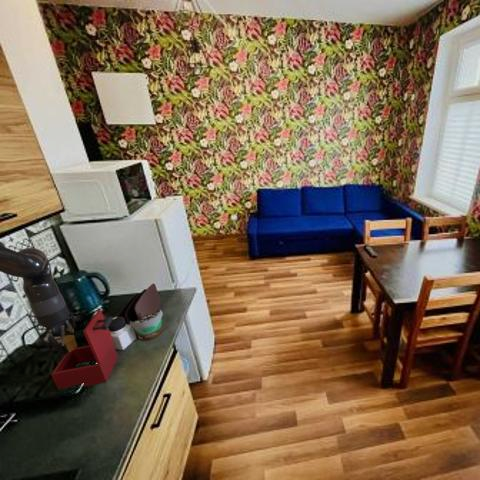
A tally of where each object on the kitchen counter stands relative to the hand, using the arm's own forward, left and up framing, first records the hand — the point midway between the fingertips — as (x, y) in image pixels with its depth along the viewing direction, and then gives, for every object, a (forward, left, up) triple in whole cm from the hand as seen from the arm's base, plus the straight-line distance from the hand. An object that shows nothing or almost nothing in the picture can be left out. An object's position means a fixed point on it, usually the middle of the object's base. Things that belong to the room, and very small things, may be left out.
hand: (68, 347), depth 92 cm
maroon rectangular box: (+3, 0, -13) cm, 14 cm away
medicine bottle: (+9, +14, -14) cm, 21 cm away
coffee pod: (0, 0, 0) cm, 0 cm away
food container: (+20, +15, -14) cm, 28 cm away
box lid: (+9, 0, +3) cm, 10 cm away
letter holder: (+12, +30, -14) cm, 35 cm away
